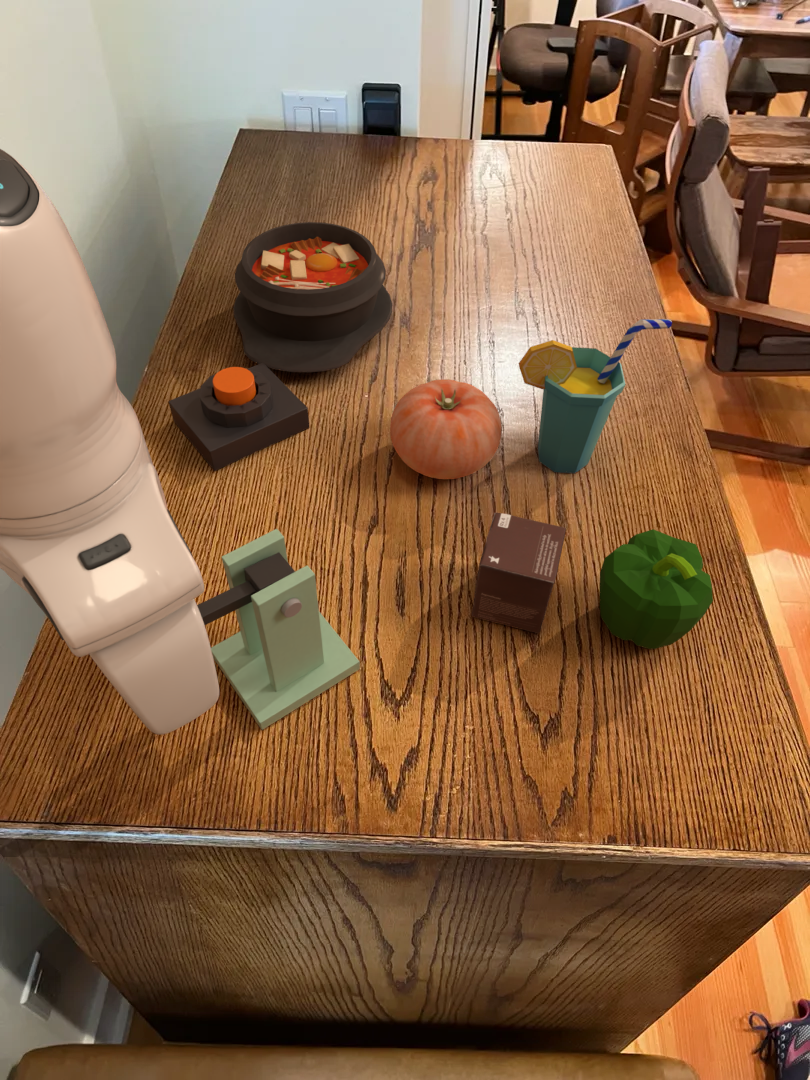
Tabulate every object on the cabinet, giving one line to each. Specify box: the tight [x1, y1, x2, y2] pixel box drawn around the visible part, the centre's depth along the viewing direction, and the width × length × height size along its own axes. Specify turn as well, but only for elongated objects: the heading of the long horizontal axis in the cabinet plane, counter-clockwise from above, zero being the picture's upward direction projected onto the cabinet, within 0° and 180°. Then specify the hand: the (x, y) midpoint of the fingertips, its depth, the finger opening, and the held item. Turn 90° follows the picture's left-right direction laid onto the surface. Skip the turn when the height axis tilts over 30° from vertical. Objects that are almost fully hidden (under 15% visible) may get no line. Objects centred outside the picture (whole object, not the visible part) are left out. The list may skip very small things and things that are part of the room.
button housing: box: [167, 363, 310, 472], centre depth 78 cm, size 11×9×4 cm
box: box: [471, 511, 567, 634], centre depth 63 cm, size 6×6×7 cm
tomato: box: [389, 379, 503, 480], centre depth 74 cm, size 11×11×8 cm
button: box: [213, 366, 256, 406], centre depth 76 cm, size 4×4×2 cm
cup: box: [518, 318, 673, 474], centre depth 72 cm, size 14×8×15 cm, turn 110°
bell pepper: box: [599, 528, 714, 650], centre depth 61 cm, size 8×8×10 cm
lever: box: [197, 552, 296, 626], centre depth 51 cm, size 12×5×2 cm, turn 127°
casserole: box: [232, 221, 393, 373], centre depth 88 cm, size 25×19×8 cm
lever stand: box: [210, 528, 361, 731], centre depth 57 cm, size 9×8×13 cm
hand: (134, 642), depth 48 cm, fingers closed
